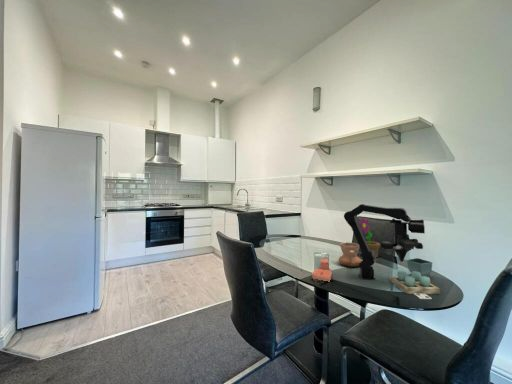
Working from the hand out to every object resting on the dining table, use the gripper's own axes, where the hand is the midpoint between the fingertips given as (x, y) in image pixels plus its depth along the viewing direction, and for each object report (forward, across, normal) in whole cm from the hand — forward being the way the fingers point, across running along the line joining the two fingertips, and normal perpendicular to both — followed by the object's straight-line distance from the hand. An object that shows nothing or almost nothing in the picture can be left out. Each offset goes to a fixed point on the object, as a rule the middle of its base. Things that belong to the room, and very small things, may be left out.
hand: (401, 261), depth 117 cm
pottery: (+12, -38, +10) cm, 42 cm away
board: (+12, +4, -4) cm, 13 cm away
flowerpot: (+12, +5, +52) cm, 54 cm away
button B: (+10, 0, -7) cm, 12 cm away
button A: (+10, 0, 0) cm, 10 cm away
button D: (+10, +7, -7) cm, 14 cm away
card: (+12, +2, -14) cm, 18 cm away
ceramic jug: (+12, -16, +32) cm, 38 cm away
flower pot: (+12, +16, +12) cm, 23 cm away
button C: (+10, +7, 0) cm, 12 cm away
